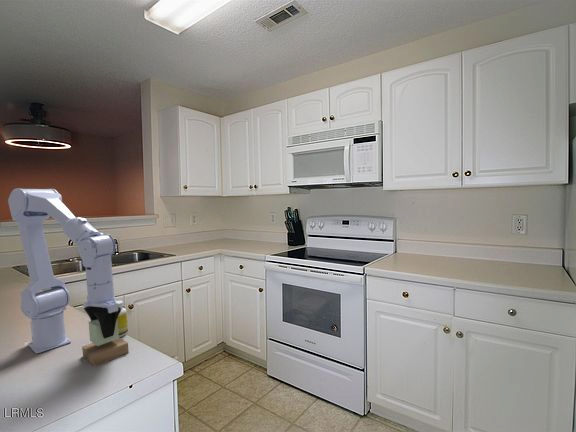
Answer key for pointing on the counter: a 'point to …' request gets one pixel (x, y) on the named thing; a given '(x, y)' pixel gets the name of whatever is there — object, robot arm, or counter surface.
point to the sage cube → (100, 333)
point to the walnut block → (104, 351)
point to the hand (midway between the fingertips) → (104, 334)
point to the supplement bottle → (122, 320)
